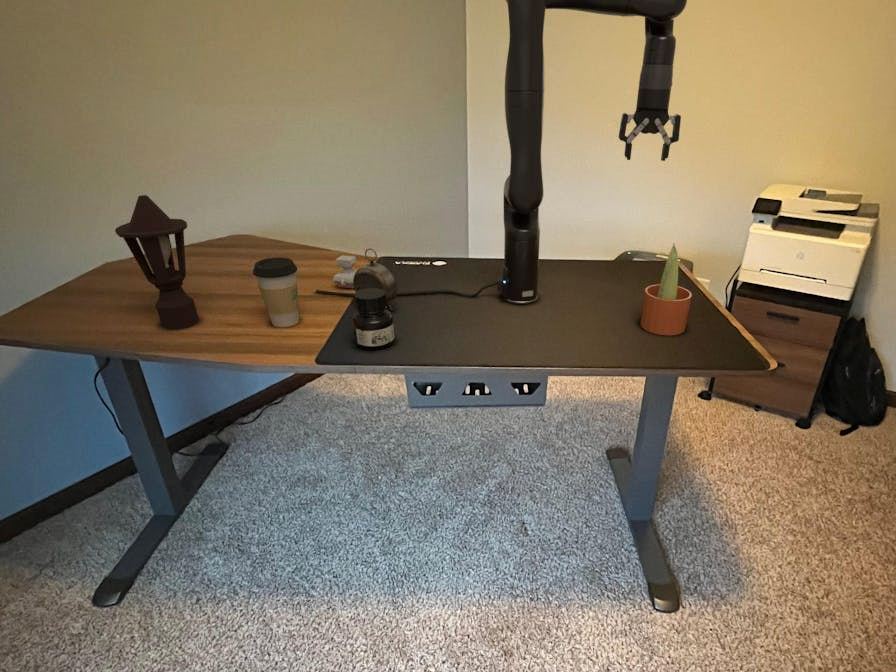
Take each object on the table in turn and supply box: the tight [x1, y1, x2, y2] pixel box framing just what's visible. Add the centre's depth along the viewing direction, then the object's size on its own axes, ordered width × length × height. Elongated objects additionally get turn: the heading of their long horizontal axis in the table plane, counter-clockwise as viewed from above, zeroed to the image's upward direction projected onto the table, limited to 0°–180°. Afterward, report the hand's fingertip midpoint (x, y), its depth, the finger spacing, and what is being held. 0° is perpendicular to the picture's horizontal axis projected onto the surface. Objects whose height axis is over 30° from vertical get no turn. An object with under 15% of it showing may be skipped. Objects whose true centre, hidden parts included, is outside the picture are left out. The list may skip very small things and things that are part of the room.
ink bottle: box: [352, 288, 395, 351], centre depth 128 cm, size 10×9×12 cm
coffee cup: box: [252, 256, 300, 328], centre depth 136 cm, size 10×10×15 cm
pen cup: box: [639, 283, 693, 336], centre depth 140 cm, size 11×11×9 cm
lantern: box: [114, 194, 200, 330], centre depth 131 cm, size 15×15×30 cm
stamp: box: [332, 254, 357, 289], centre depth 160 cm, size 9×7×8 cm
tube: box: [657, 242, 680, 300], centre depth 137 cm, size 6×5×20 cm
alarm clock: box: [353, 247, 398, 312], centre depth 143 cm, size 11×5×16 cm, turn 65°
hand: (645, 159), depth 141 cm, fingers open, 8 cm apart
